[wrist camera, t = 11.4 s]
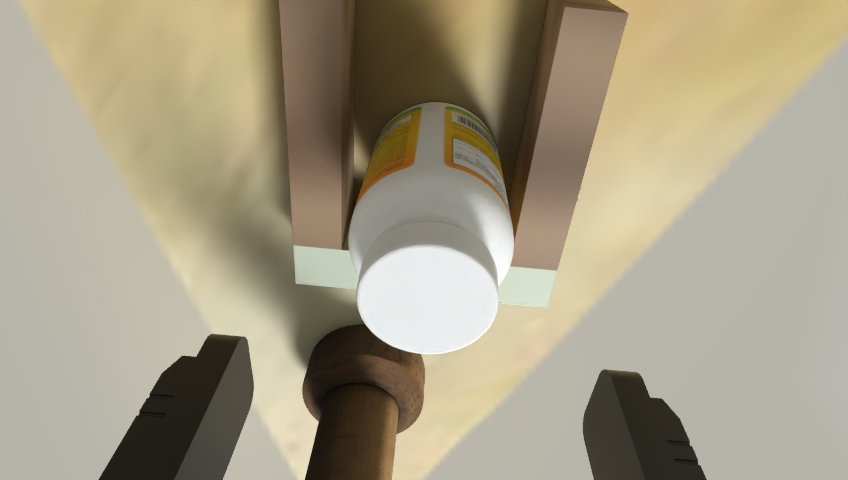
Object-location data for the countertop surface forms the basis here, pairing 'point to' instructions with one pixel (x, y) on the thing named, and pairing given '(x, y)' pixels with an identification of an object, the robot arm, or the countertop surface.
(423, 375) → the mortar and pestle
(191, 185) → the countertop surface
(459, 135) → the supplement bottle
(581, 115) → the slot holder
